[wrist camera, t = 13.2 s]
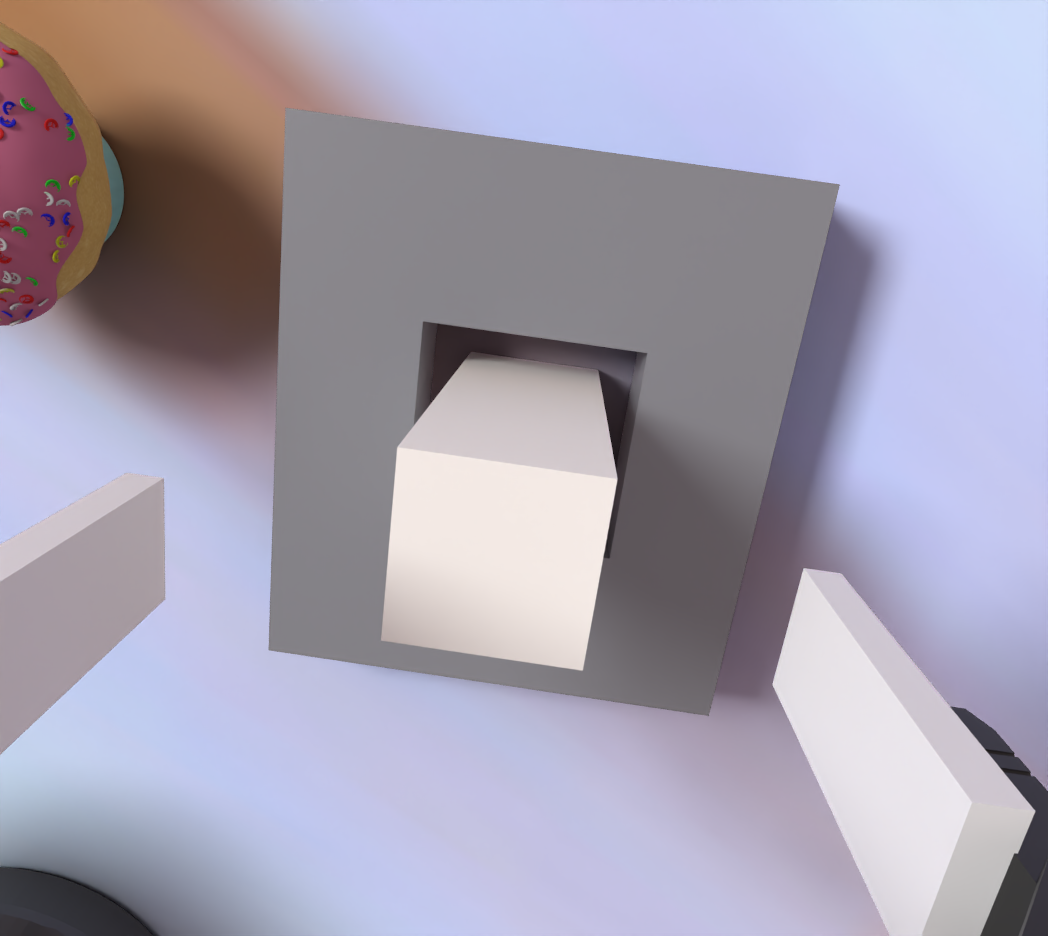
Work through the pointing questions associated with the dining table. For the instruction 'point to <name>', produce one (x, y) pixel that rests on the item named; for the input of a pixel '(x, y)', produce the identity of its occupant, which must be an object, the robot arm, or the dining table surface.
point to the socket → (544, 312)
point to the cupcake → (48, 182)
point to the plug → (502, 514)
